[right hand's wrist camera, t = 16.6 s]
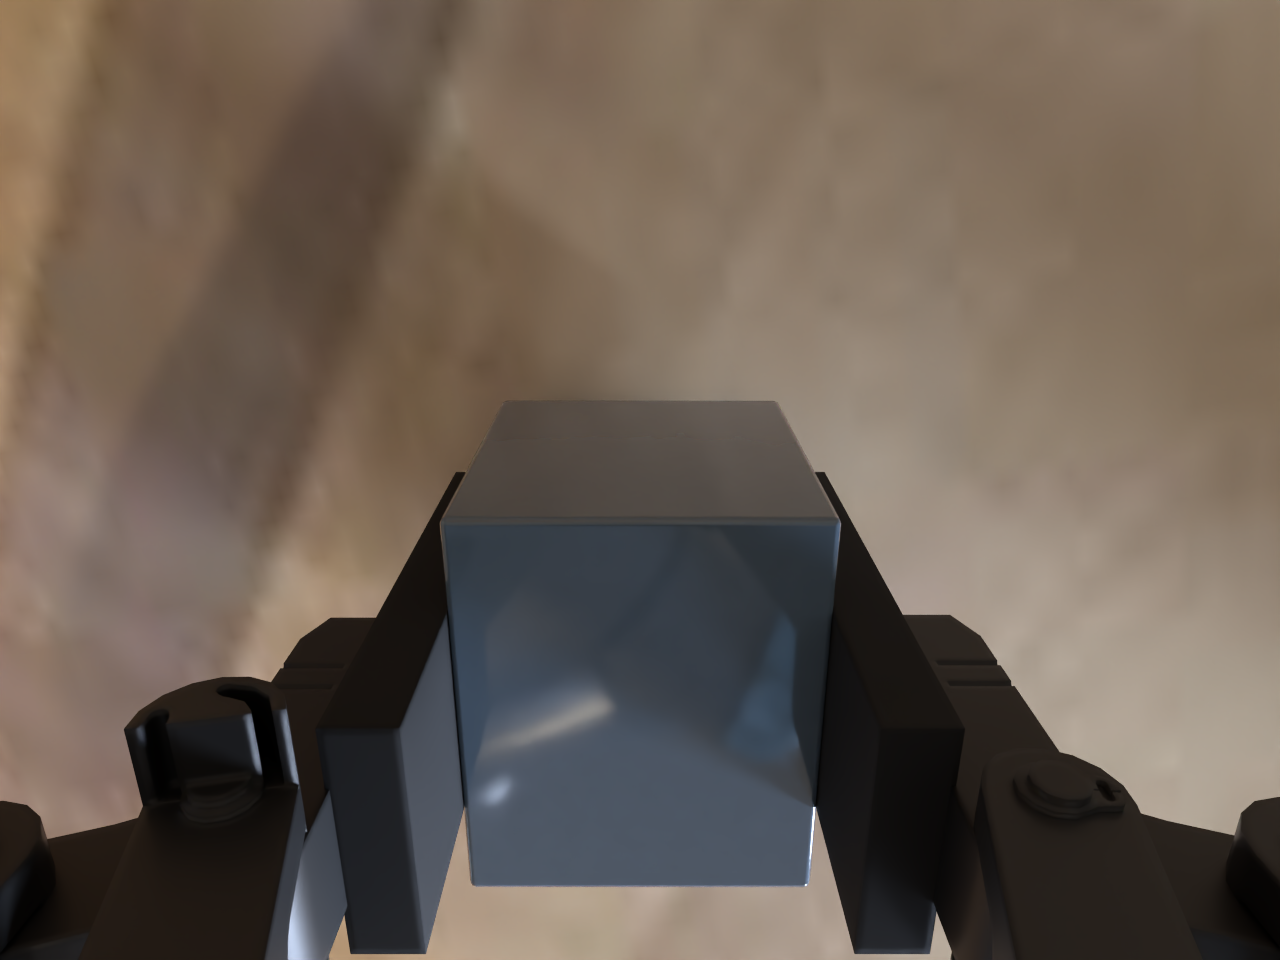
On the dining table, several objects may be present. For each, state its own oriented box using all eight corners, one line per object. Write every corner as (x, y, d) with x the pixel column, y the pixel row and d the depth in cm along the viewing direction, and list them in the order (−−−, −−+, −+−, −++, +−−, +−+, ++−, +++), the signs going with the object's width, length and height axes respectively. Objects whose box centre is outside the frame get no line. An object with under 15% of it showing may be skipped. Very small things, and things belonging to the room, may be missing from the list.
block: (501, 399, 14) (437, 519, 9) (778, 399, 14) (843, 519, 9) (518, 679, 16) (469, 889, 11) (762, 679, 16) (810, 889, 11)
